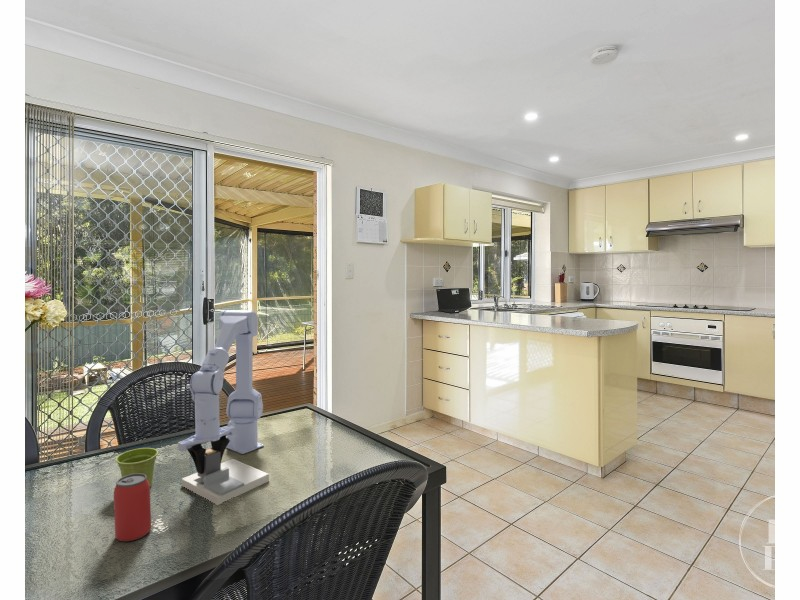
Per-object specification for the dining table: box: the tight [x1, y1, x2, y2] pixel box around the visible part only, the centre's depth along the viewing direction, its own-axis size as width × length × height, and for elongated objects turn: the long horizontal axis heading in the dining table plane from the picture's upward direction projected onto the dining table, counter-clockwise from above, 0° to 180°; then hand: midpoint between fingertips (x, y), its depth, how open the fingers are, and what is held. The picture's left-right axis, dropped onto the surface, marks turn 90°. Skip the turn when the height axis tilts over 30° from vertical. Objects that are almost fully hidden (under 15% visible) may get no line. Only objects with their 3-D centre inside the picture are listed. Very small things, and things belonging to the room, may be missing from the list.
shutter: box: [204, 467, 244, 496], centre depth 111 cm, size 7×6×3 cm
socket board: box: [181, 458, 270, 506], centre depth 117 cm, size 16×15×2 cm
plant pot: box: [115, 447, 159, 488], centre depth 114 cm, size 9×9×9 cm
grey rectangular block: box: [198, 447, 222, 479], centre depth 115 cm, size 4×4×6 cm
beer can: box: [113, 473, 152, 543], centre depth 95 cm, size 7×7×12 cm
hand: (208, 469), depth 115 cm, fingers closed on grey rectangular block, 4 cm apart
